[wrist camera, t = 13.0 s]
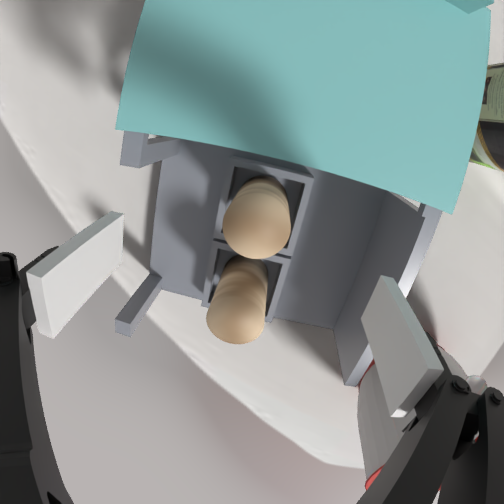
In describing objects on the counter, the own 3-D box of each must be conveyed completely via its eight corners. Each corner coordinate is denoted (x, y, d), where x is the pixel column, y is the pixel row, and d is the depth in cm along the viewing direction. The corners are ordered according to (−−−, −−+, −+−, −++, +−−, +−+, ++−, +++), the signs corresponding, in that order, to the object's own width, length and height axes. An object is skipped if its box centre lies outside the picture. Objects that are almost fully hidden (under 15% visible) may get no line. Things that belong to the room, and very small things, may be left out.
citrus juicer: (474, 324, 33) (540, 429, 15) (410, 406, 40) (439, 508, 22) (390, 298, 33) (455, 442, 14) (328, 395, 40) (339, 521, 21)
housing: (155, 277, 34) (115, 332, 25) (214, -25, 20) (186, -77, 11) (340, 320, 34) (355, 386, 25) (427, 31, 21) (481, 4, 11)
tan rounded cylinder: (243, 170, 27) (229, 187, 19) (292, 181, 27) (298, 202, 19) (233, 217, 28) (217, 250, 21) (280, 228, 28) (281, 265, 21)
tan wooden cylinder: (219, 288, 32) (202, 336, 24) (227, 248, 30) (210, 291, 22) (262, 298, 32) (256, 349, 24) (273, 259, 30) (270, 305, 23)
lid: (122, 128, 17) (86, 132, 14) (181, -71, 11) (162, -100, 7) (445, 210, 18) (477, 231, 14) (483, 13, 11) (515, 1, 7)
